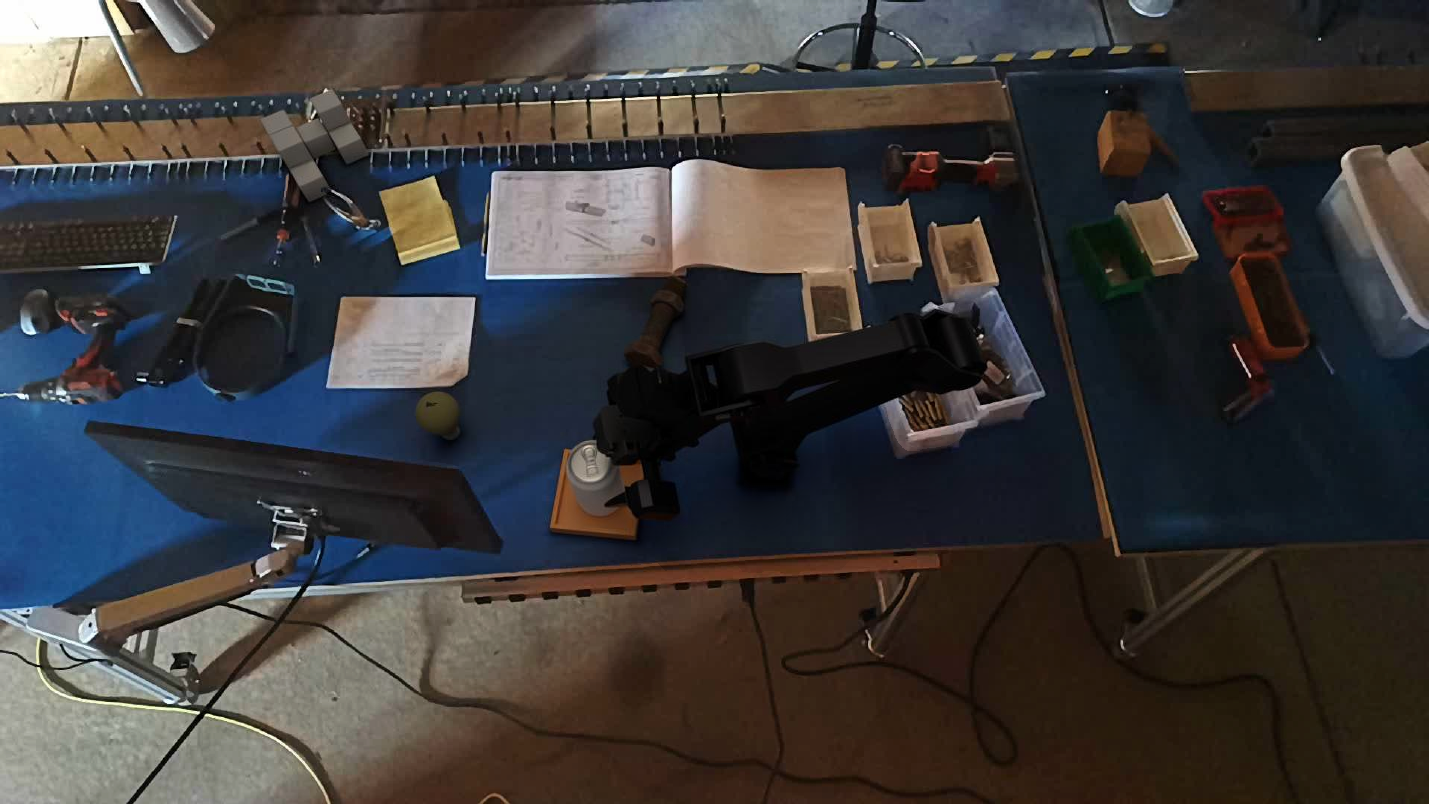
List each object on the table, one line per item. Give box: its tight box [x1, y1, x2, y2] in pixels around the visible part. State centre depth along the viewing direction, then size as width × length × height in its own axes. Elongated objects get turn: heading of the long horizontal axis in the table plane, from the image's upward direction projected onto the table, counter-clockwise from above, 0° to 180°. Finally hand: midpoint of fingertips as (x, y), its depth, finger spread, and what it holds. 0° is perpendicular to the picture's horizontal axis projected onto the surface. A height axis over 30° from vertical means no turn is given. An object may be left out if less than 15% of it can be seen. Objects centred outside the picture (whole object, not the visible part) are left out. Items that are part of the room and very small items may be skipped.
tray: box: [549, 448, 644, 541], centre depth 115 cm, size 11×11×2 cm
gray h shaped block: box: [260, 89, 369, 203], centre depth 137 cm, size 12×12×8 cm
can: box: [566, 439, 625, 517], centre depth 110 cm, size 6×6×12 cm
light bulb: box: [414, 391, 461, 441], centre depth 115 cm, size 6×6×10 cm
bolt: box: [623, 275, 688, 369], centre depth 125 cm, size 6×5×15 cm
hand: (601, 472), depth 108 cm, fingers open, 9 cm apart
